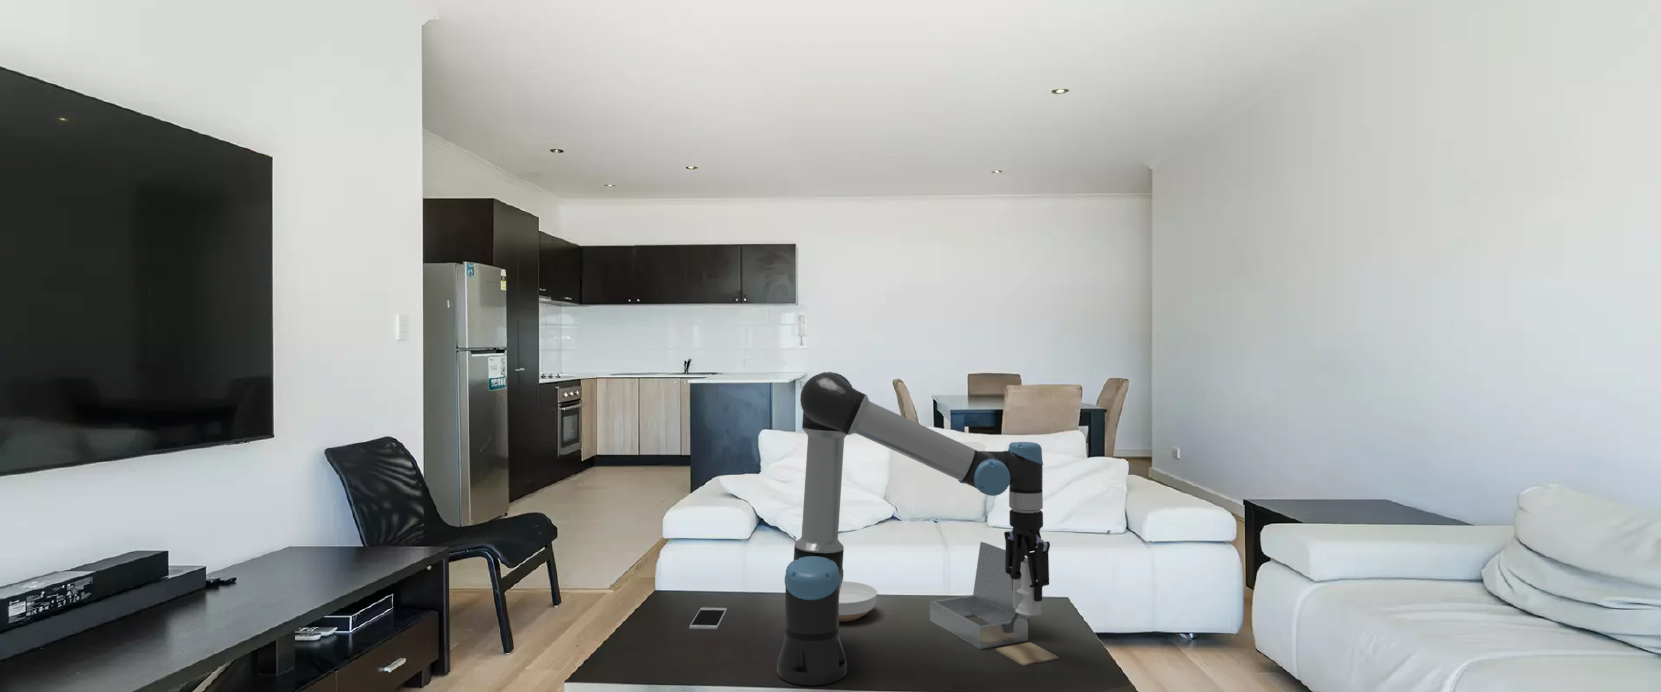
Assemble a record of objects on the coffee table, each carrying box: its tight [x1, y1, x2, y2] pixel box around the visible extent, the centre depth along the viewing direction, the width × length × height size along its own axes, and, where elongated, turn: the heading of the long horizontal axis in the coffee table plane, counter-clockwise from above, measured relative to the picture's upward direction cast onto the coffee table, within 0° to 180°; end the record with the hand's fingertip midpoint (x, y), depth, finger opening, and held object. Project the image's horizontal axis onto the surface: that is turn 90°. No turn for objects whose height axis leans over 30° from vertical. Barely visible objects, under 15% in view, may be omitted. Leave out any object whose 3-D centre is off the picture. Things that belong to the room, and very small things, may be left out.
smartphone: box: [688, 607, 728, 630], centre depth 203 cm, size 7×16×1 cm, turn 178°
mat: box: [995, 641, 1059, 666], centre depth 178 cm, size 10×10×1 cm
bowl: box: [839, 580, 878, 623], centre depth 206 cm, size 20×20×6 cm
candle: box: [1015, 560, 1032, 616], centre depth 179 cm, size 5×5×12 cm
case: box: [929, 541, 1031, 650], centre depth 195 cm, size 17×23×19 cm
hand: (1026, 610), depth 179 cm, fingers closed on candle, 5 cm apart
